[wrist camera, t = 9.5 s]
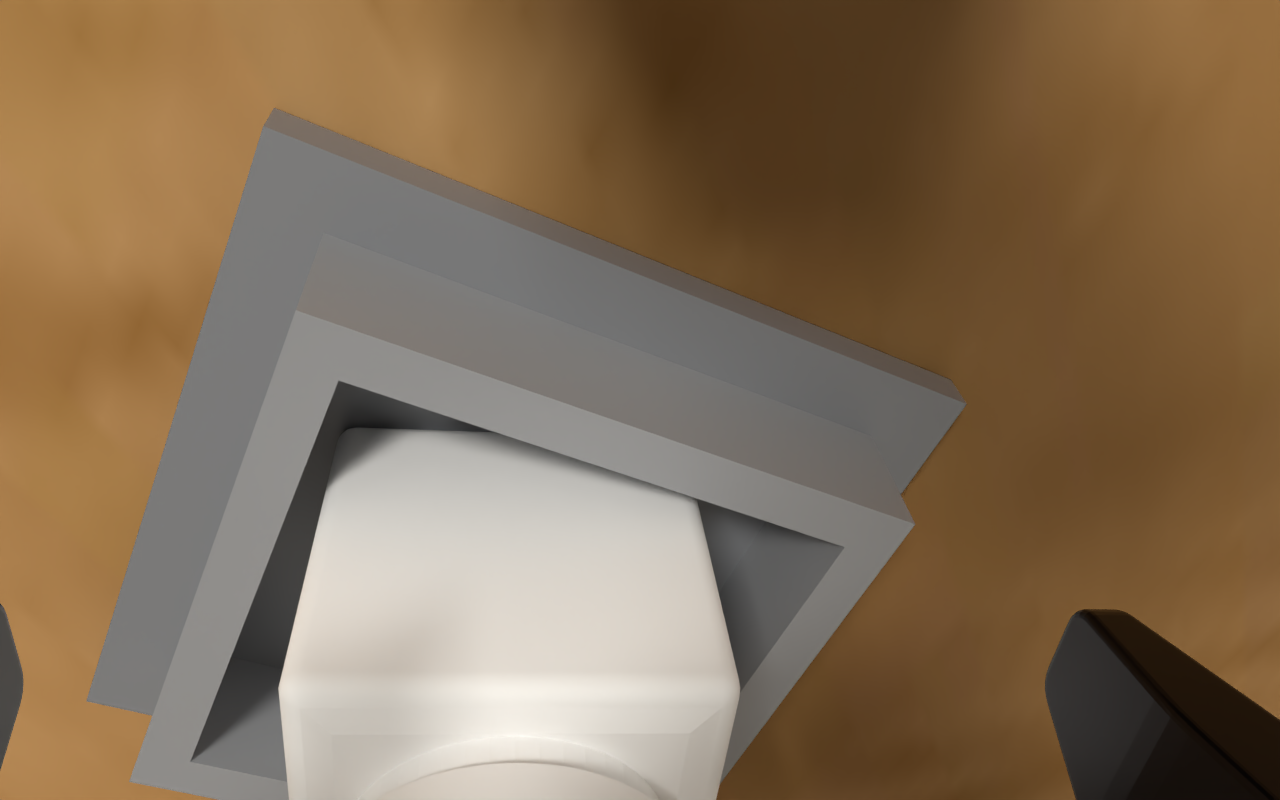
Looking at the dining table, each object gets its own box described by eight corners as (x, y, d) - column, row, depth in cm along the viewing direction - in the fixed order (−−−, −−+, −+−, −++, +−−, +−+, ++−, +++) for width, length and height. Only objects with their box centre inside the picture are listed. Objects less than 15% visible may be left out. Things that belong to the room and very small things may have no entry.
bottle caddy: (273, 107, 19) (223, 191, 16) (950, 379, 24) (1022, 489, 21) (100, 669, 26) (39, 811, 23) (654, 795, 31) (671, 929, 27)
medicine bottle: (349, 670, 25) (243, 1298, 15) (337, 419, 22) (187, 1032, 12) (647, 671, 26) (731, 1261, 16) (685, 432, 23) (824, 1005, 13)
